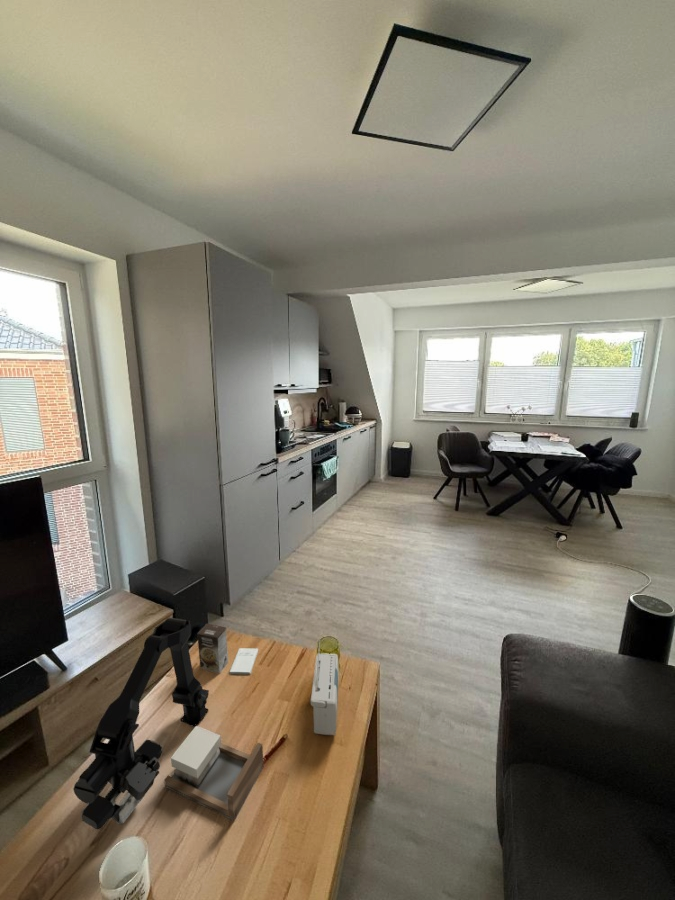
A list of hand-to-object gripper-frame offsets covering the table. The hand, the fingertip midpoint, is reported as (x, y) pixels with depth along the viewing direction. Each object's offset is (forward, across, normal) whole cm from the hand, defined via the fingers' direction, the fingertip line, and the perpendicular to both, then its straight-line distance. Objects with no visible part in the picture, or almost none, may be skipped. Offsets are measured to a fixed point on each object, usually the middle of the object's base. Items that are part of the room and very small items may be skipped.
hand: (129, 805), depth 93 cm
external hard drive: (+4, +54, +2) cm, 54 cm away
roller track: (+3, +15, -15) cm, 21 cm away
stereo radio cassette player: (+3, +46, -37) cm, 59 cm away
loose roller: (+1, 0, 0) cm, 1 cm away
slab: (-2, +15, -9) cm, 18 cm away
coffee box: (+3, +48, +12) cm, 50 cm away
